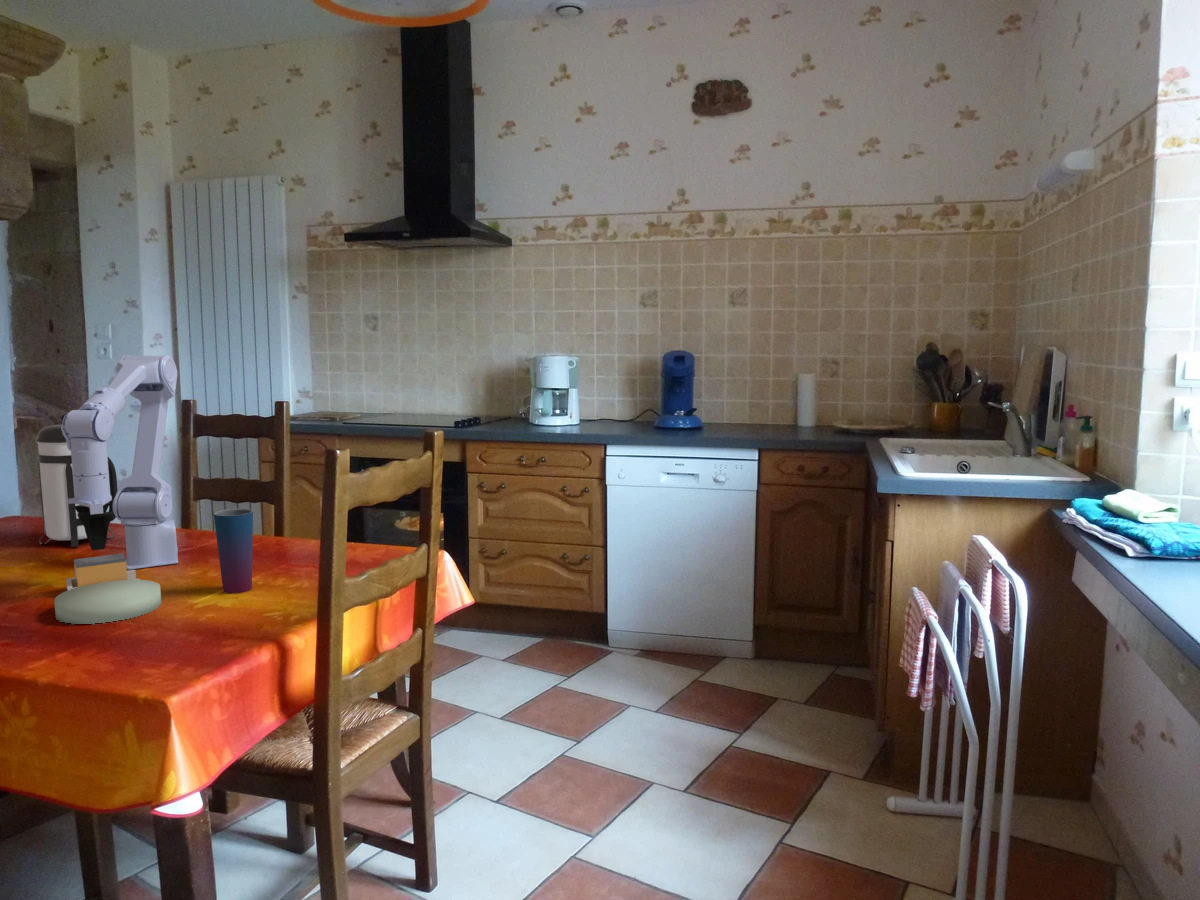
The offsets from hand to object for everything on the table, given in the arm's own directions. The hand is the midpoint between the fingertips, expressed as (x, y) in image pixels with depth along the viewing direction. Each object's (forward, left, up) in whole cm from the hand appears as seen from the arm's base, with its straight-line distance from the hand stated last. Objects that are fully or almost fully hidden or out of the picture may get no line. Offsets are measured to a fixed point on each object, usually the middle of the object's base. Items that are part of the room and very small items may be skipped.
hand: (96, 545), depth 158 cm
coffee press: (+1, -45, -9) cm, 46 cm away
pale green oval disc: (0, +10, -8) cm, 13 cm away
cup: (-21, +15, -9) cm, 28 cm away
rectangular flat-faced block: (0, +1, -9) cm, 9 cm away
